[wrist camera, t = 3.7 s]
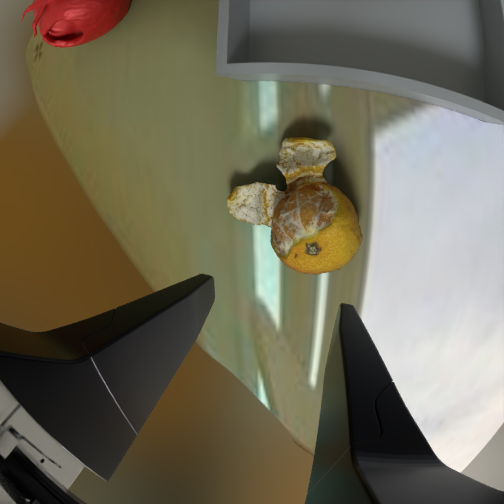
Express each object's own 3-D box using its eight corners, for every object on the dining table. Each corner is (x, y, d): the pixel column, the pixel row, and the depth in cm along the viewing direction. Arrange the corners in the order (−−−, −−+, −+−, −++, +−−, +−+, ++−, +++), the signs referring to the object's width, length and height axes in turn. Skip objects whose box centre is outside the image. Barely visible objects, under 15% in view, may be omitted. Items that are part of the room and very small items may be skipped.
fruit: (309, 119, 16) (302, 123, 13) (392, 219, 17) (402, 246, 14) (221, 201, 20) (199, 222, 17) (300, 281, 22) (292, 313, 19)
